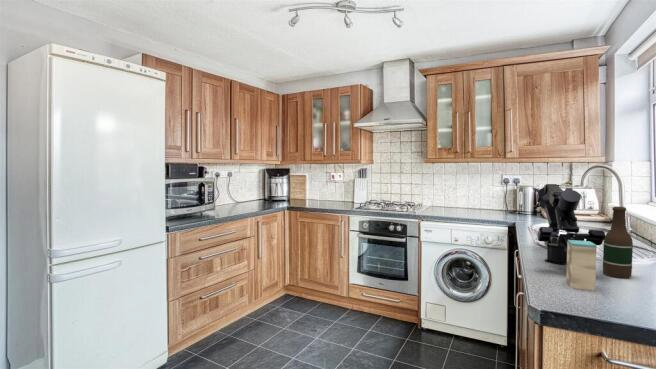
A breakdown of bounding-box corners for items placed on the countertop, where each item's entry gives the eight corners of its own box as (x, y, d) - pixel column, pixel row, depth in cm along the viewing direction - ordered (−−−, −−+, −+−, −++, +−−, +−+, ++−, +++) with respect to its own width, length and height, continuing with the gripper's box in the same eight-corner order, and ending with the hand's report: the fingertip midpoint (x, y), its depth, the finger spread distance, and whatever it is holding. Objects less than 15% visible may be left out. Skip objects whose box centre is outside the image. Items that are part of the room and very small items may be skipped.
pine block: (566, 281, 109) (567, 239, 109) (588, 284, 107) (590, 241, 106) (571, 287, 104) (572, 243, 103) (595, 290, 102) (596, 245, 101)
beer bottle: (621, 280, 111) (623, 208, 110) (596, 273, 119) (599, 206, 117) (637, 277, 113) (640, 207, 112) (612, 271, 121) (615, 205, 119)
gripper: (591, 233, 123) (601, 271, 114) (533, 230, 131) (538, 265, 121) (600, 215, 116) (611, 254, 106) (537, 213, 123) (543, 249, 113)
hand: (574, 256), depth 112 cm, fingers closed
